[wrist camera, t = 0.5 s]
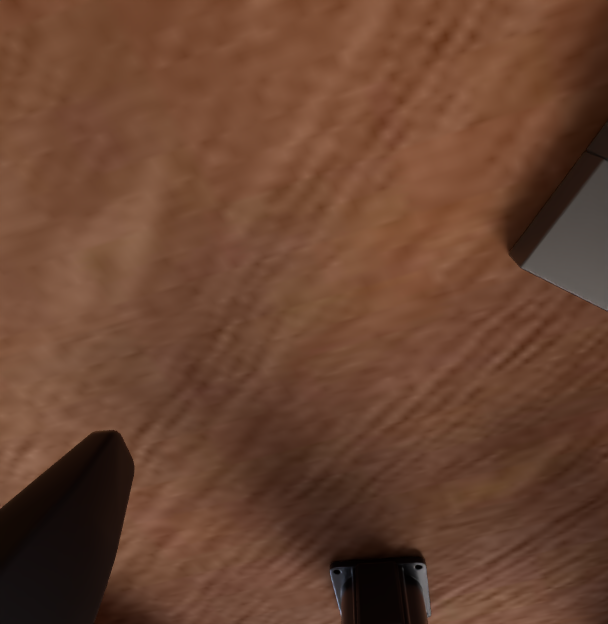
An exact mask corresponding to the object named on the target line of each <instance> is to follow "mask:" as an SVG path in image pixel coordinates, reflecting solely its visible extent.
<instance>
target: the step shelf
mask: <svg viewBox="0 0 608 624" xmlns="http://www.w3.org/2000/svg"><path fill="white" fill-rule="evenodd" d="M509 255H510V256H511V258H512V259H513V260H514V261H515V262H516V263H517V265H518V266H519V267H520V268H522V269H524V270H526V271H528V272H530V273H532V274H534V275H536V276H538V277H539V278H541V279H543V280H545V281H547V282H549V283H551V284H553V285H555V286H557V287H559V288H561V289H563V290H565V291H567V292H569V293H571V294H573V295H575V296H577V297H579V298H581V299H583V300H585V301H587V302H589V303H591V304H593V305H595V306H597V307H599V308H601V309H603V310H605V311H607V312H608V121H607V122H606V124H605V125H604V126H603V128H602V129H601V130H600V132H599V133H598V134H597V136H596V137H595V138H594V140H593V141H592V142H591V144H590V145H589V147H588V148H587V152H584V153H583V154H582V156H581V157H580V159H579V160H578V161H577V163H576V164H575V165H574V167H573V168H572V169H571V171H570V172H569V173H568V175H567V176H566V177H565V179H564V180H563V181H562V183H561V184H560V185H559V187H558V188H557V189H556V191H555V192H554V193H553V195H552V196H551V197H550V199H549V200H548V201H547V203H546V204H545V205H544V207H543V208H542V209H541V211H540V212H539V214H538V215H537V216H536V218H535V219H534V220H533V222H532V223H531V224H530V226H529V227H528V228H527V230H526V231H525V232H524V234H523V235H522V236H521V238H520V239H519V240H518V242H517V243H516V244H515V246H514V247H513V248H512V250H511V251H510V252H509Z"/></svg>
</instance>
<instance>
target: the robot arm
mask: <svg viewBox="0 0 608 624" xmlns="http://www.w3.org/2000/svg"><path fill="white" fill-rule="evenodd" d="M133 477H134V461H133V459H132V457H131V454H130V452H129V450H128V448H127V446H126V444H125V442H124V440H123V438H122V436H121V434H120V433H119V432H118V431H115V430H107V431H95V432H93V433H91V434H90V435H88V436H87V437H86V438H85V439H84V440H82V441H81V442H80V443H79V444H78V445H76V446H75V447H74V448H73V449H72V450H70V451H69V452H68V453H67V454H66V455H64V456H63V457H62V458H61V459H60V460H58V461H57V462H56V463H55V464H53V465H52V466H51V467H50V468H49V469H47V470H46V471H45V472H44V473H43V474H41V475H40V476H39V477H38V478H37V479H35V480H34V481H33V482H32V483H31V484H29V485H28V486H27V487H26V488H25V489H23V490H22V491H21V492H20V493H19V494H17V495H16V496H15V497H14V498H13V499H11V500H10V501H9V502H8V503H7V504H5V505H4V506H3V507H2V508H1V509H0V624H94V622H95V619H96V616H97V613H98V610H99V607H100V604H101V601H102V598H103V595H104V592H105V589H106V586H107V583H108V580H109V577H110V574H111V570H112V567H113V564H114V561H115V557H116V553H117V549H118V545H119V540H120V536H121V531H122V527H123V522H124V518H125V513H126V509H127V504H128V500H129V495H130V491H131V486H132V481H133ZM330 575H331V579H332V583H333V587H334V590H335V594H336V598H337V602H338V606H339V610H340V613H341V624H428V620H427V618H428V617H430V616H431V608H430V598H429V589H428V579H427V570H426V563H425V560H424V559H423V558H421V557H407V558H391V559H375V560H359V561H342V562H333V563H331V564H330Z"/></svg>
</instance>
